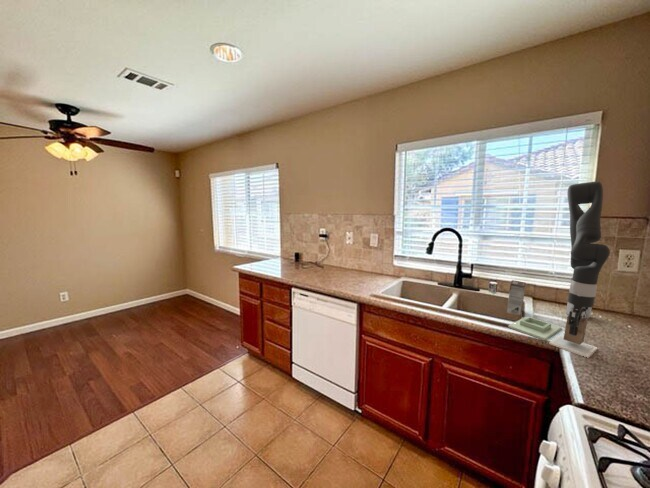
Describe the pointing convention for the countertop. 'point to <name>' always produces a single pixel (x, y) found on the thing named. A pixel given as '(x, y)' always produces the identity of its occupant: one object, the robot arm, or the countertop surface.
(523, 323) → the pocket board
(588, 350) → the plate
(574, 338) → the walnut block
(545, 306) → the countertop surface
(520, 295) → the grey coffee bag
